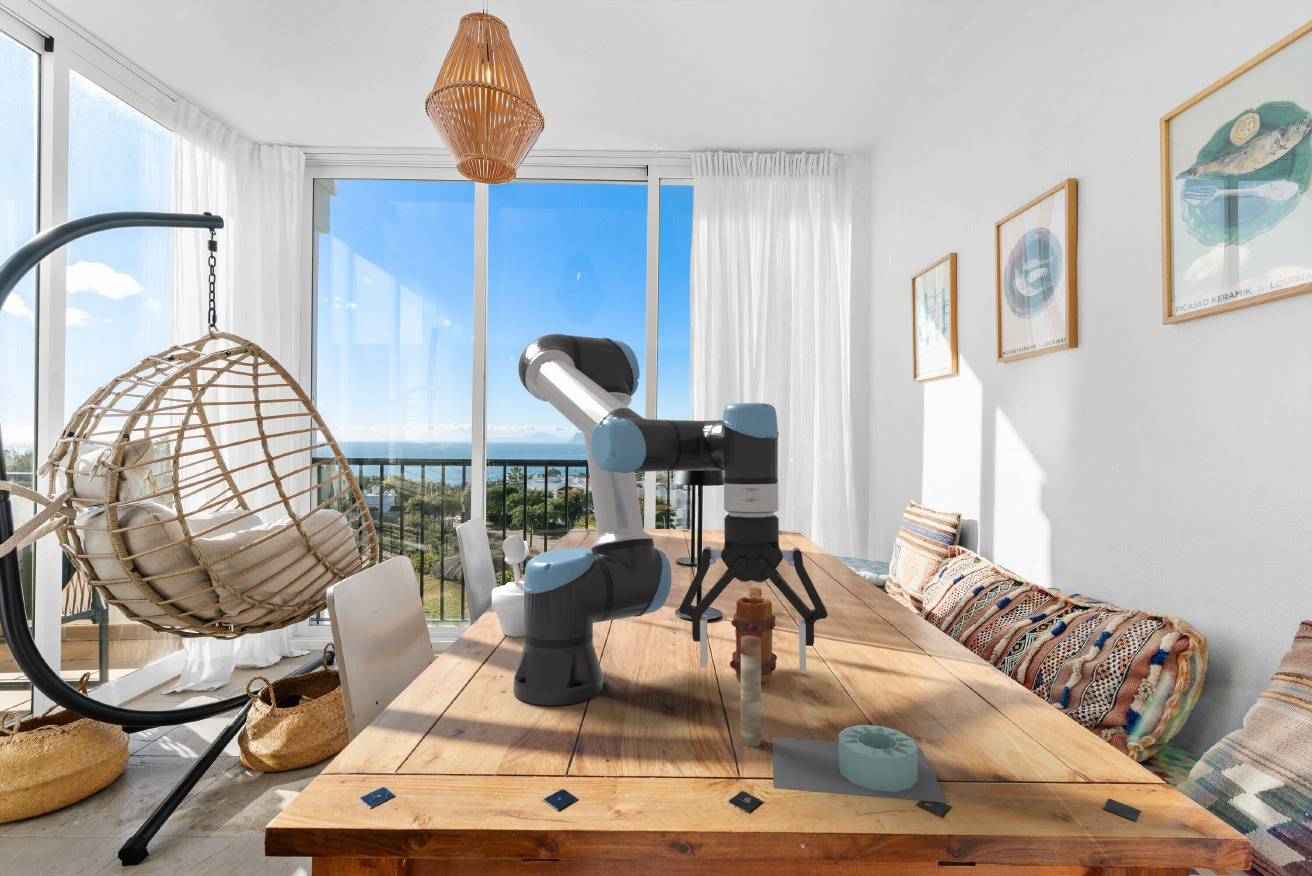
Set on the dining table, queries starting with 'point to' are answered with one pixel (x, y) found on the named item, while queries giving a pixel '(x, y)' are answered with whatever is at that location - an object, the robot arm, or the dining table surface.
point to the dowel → (751, 691)
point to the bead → (878, 758)
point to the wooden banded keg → (755, 630)
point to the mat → (838, 772)
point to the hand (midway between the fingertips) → (752, 667)
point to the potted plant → (512, 589)
